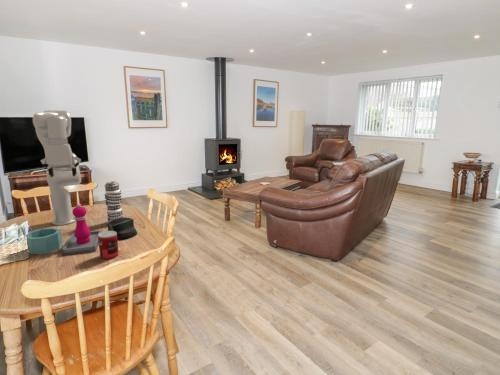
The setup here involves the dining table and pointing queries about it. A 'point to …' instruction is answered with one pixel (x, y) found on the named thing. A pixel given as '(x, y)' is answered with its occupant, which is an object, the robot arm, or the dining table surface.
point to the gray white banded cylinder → (113, 200)
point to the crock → (44, 240)
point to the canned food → (108, 244)
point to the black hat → (123, 228)
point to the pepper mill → (81, 225)
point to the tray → (75, 248)
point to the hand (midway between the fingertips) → (63, 176)
